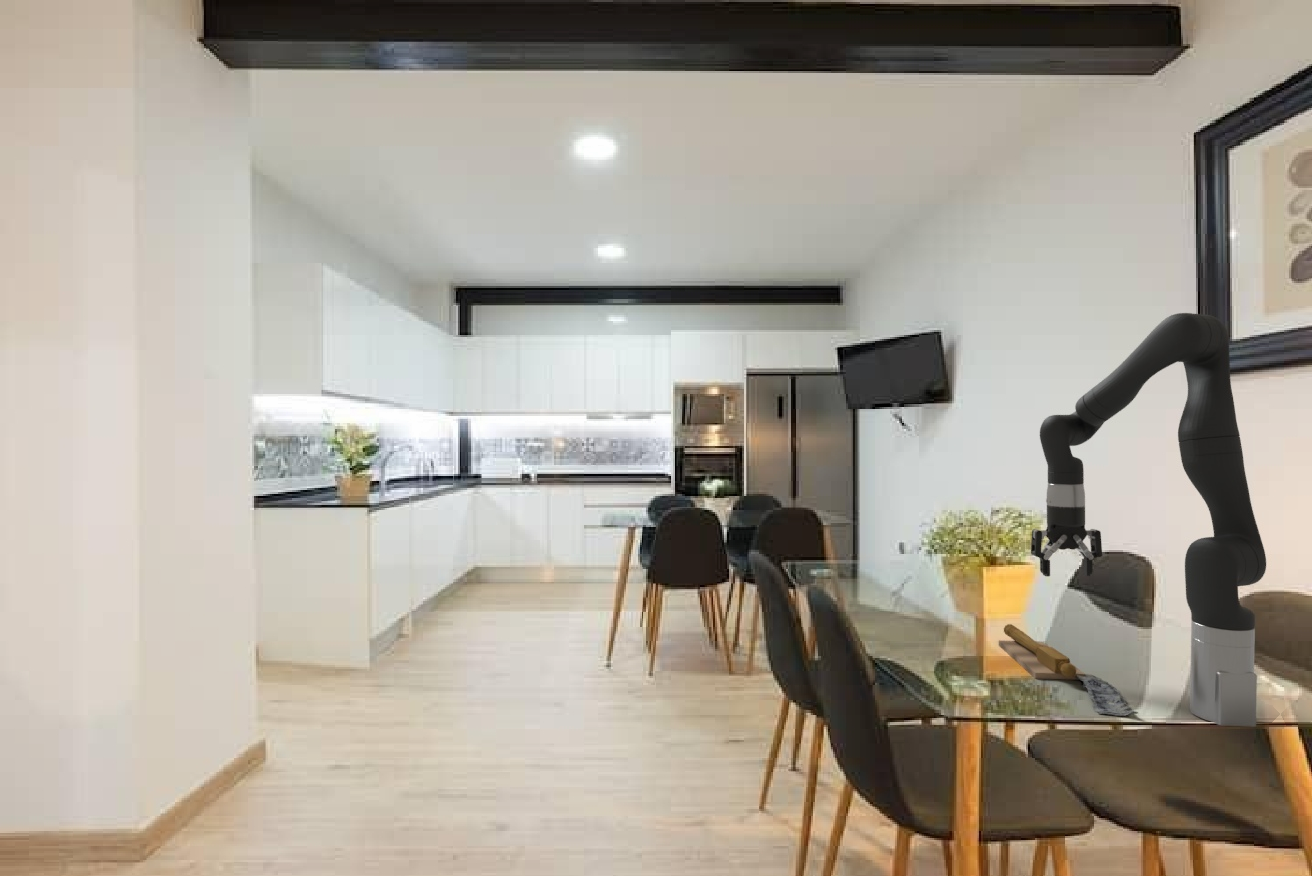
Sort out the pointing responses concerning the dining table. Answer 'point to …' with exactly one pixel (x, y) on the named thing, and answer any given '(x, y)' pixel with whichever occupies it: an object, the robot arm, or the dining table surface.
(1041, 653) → the tap handle
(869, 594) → the dining table surface
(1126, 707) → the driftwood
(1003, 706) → the dining table surface
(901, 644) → the dining table surface
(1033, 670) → the cutting board
